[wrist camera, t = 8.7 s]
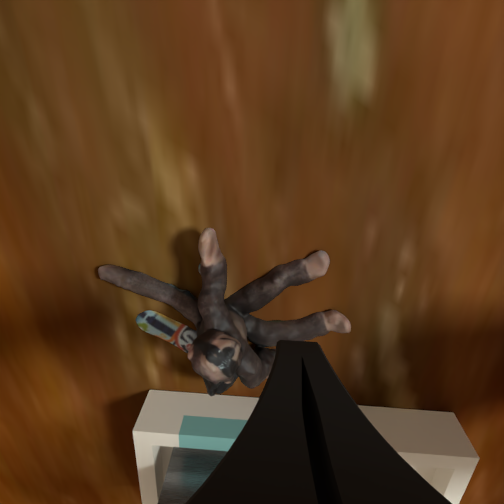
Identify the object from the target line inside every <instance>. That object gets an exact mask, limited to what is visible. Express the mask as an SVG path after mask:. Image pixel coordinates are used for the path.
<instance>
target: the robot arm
mask: <svg viewBox="0 0 504 504" xmlns="http://www.w3.org/2000/svg"><path fill="white" fill-rule="evenodd" d="M185 504H452V503H451V502H450V501H449V500H448V499H446V498H445V497H444V496H443V495H442V494H441V493H439V492H438V491H437V490H436V489H435V488H434V487H433V486H431V485H430V484H429V483H428V482H427V481H426V480H425V479H424V478H423V477H422V476H421V475H420V474H419V473H418V472H417V471H416V470H414V469H413V468H412V467H411V466H410V465H409V464H408V463H407V462H406V461H405V460H404V459H403V458H402V457H401V456H400V455H399V454H398V453H397V452H396V451H395V450H394V448H393V447H392V446H391V445H390V444H389V443H388V442H387V441H386V440H385V439H384V438H383V436H382V435H381V434H380V433H379V432H378V431H377V430H376V428H375V427H374V426H373V425H372V423H371V422H370V421H369V420H368V419H367V417H366V416H365V415H364V413H363V412H362V411H361V409H360V408H359V407H358V405H357V404H356V403H355V401H354V400H353V399H352V397H351V396H350V394H349V393H348V391H347V390H346V388H345V387H344V386H343V384H342V383H341V381H340V380H339V378H338V376H337V375H336V373H335V372H334V370H333V368H332V367H331V365H330V363H329V362H328V360H327V358H326V356H325V354H324V353H323V351H322V349H321V347H320V345H319V344H318V343H317V342H306V341H291V340H279V341H278V342H277V343H276V354H275V358H274V362H273V365H272V369H271V371H270V374H269V377H268V379H267V382H266V384H265V387H264V389H263V391H262V393H261V395H260V398H259V400H258V402H257V404H256V406H255V408H254V410H253V412H252V413H251V415H250V417H249V419H248V421H247V422H246V424H245V426H244V427H243V429H242V431H241V432H240V434H239V435H238V437H237V438H236V440H235V441H234V443H233V445H232V446H231V447H230V449H229V450H228V452H227V453H226V455H225V456H224V457H223V459H222V460H221V461H220V462H219V464H218V465H217V466H216V468H215V469H214V470H213V472H212V473H211V474H210V475H209V477H208V478H207V479H206V480H205V482H204V483H203V484H202V485H201V486H200V488H199V489H198V490H197V491H196V492H195V493H194V494H193V495H192V496H191V498H190V499H189V500H188V501H187V502H186V503H185Z"/></svg>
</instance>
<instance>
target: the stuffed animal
mask: <svg viewBox="0 0 504 504" xmlns="http://www.w3.org/2000/svg"><path fill="white" fill-rule="evenodd" d="M198 250H199V253H200V256H201V259H202V260H201V264H199V273H200V274H201V276H202V289H201V292H200V294H199V297H198V299H197V298H196V297H194V296H193V295H192V294H191V293H190V292H189V291H187V290H181V289H178V288H177V287H176V286H174V285H172V284H168V283H164V282H162V281H159V280H157V279H155V278H152V277H150V276H148V275H146V274H143V273H141V272H137V271H133V270H129V269H126V268H123V267H119V266H115V265H104V266H101V267H99V269H98V274H99V277H100V279H101V280H105V281H108V282H110V283H112V284H115V285H116V286H118V287H122V288H123V289H127V290H130V291H132V292H134V293H137V294H140V295H142V296H146V297H149V298H152V299H155V300H158V301H161V302H164V303H167V304H169V305H171V306H173V307H174V308H175V309H176V310H177V311H179V312H180V313H181V314H182V315H183V316H184V317H185V318H187V319H188V320H190V321H192V322H193V323H194V324H195V327H196V328H197V331H195V330H193V329H191V328H189V327H188V326H186V325H184V324H182V323H180V322H177V321H175V320H173V319H171V318H169V317H167V316H165V315H163V314H160V313H158V312H155V311H144V312H142V313H140V314H139V315H138V316H137V318H136V322H137V324H138V326H139V328H140V329H142V330H143V331H145V332H147V333H149V334H152V335H154V336H156V337H159V338H161V339H163V340H165V341H167V342H170V343H171V344H173V345H175V346H177V347H178V348H180V349H181V350H183V351H185V352H186V353H188V359H189V360H190V361H191V363H192V367H193V370H194V371H195V372H196V373H197V374H199V375H200V376H202V377H203V380H204V382H205V385H206V388H207V392H208V394H209V395H210V396H214V395H215V394H216V393H217V394H221V393H223V392H224V391H226V390H227V389H228V388H229V387H231V386H232V385H233V383H234V382H235V381H236V379H237V377H240V379H241V382H242V383H243V384H244V385H245V386H247V387H248V388H255V386H259V385H260V383H261V382H263V381H264V380H265V378H268V377H269V374H270V371H271V369H272V365H273V362H274V358H275V354H276V349H268V348H265V347H269V346H276V343H277V342H278V341H279V340H291V341H305V340H311V339H313V338H315V337H317V336H323V335H326V334H327V333H328V332H329V331H335V332H339V333H349V332H350V331H351V325H350V322H349V320H348V319H347V318H346V317H345V316H344V315H343V314H341V313H340V312H338V311H336V310H330V311H326V312H316V313H313V314H311V315H309V316H306V317H304V318H301V319H297V320H288V321H281V320H273V321H264V320H262V319H259V318H255V317H253V316H252V315H250V314H249V313H250V312H253V311H257V310H259V309H260V308H262V307H263V306H265V305H266V304H267V303H269V302H270V301H271V300H273V299H274V298H275V297H276V296H278V295H279V294H280V293H281V292H282V291H283V290H284V289H285V288H287V287H289V286H298V285H301V284H304V283H308V282H310V281H312V280H314V279H316V278H317V277H322V276H323V275H325V274H326V272H327V269H328V266H329V264H330V259H329V256H328V254H327V253H326V252H325V251H317V252H315V253H313V254H312V255H310V256H309V257H307V258H305V259H299V260H294V261H292V262H289V263H287V264H282V265H278V266H276V267H275V268H274V269H272V270H271V271H270V272H269V273H268V274H267V275H266V276H264V277H262V278H259V279H257V280H255V281H253V282H251V283H249V284H248V285H246V286H245V287H244V288H242V289H240V290H238V291H237V292H236V293H234V294H232V295H231V296H230V297H228V298H227V299H225V300H224V293H225V290H226V285H227V264H226V260H225V258H224V256H223V255H222V253H221V251H220V248H219V245H218V241H217V237H216V232H215V230H214V229H212V228H206V229H204V230H203V232H202V233H201V235H200V238H199V242H198ZM247 338H248V339H249V340H250V341H251V342H252V343H254V344H257V346H256V347H255V349H254V350H252V348H251V347H250V346H249V344H248V342H247Z"/></svg>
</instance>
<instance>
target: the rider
mask: <svg viewBox="0 0 504 504" xmlns="http://www.w3.org/2000/svg"><path fill="white" fill-rule="evenodd" d="M227 452H228V451H218V450H206V449H193V448H181V447H173V450H172V454H171V458H170V461H169V465H168V468H167V472H166V475H165V479H164V482H163V486H162V490H161V493H160V497H159V500H158V504H185V503H186V502H187V501H188V500H189V499H190V498H191V496H192V495H193V494H194V493H195V492H196V491H197V490H198V489H199V488H200V486H201V485H202V484H203V483H204V482H205V480H206V479H207V478H208V477H209V475H210V474H211V473H212V472H213V470H214V469H215V468H216V466H217V465H218V464H219V462H220V461H221V460H222V459H223V457H224V456H225V455H226V453H227Z"/></svg>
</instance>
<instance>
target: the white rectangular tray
mask: <svg viewBox="0 0 504 504" xmlns="http://www.w3.org/2000/svg"><path fill="white" fill-rule="evenodd" d="M258 400H259V398H254V397H241V396H228V395H214V396H210V395H209V394H201V393H188V392H174V391H161V390H149V392H148V395H147V397H146V400H145V402H144V404H143V407H142V409H141V412H140V414H139V416H138V419H137V421H136V424H135V426H134V428H133V439H134V446H135V454H136V461H137V469H138V476H139V484H140V491H141V499H142V504H158V500H159V497H160V493H161V490H162V486H163V482H164V479H165V475H166V472H167V468H168V465H169V461H170V458H171V454H172V450H173V447H181V448H193V449H206V450H218V451H228V450H229V449H230V447H231V446H232V445H233V443H234V441H235V440H236V438H237V437H238V435H239V434H240V432H241V431H242V429H243V427H244V426H245V424H246V422H247V421H248V419H249V417H250V415H251V413H252V412H253V410H254V408H255V406H256V404H257V402H258ZM358 407H359V408H360V409H361V411H362V412H363V413H364V415H365V416H366V417H367V419H368V420H369V421H370V422H371V423H372V425H373V426H374V427H375V428H376V430H377V431H378V432H379V433H380V434H381V435H382V436H383V438H384V439H385V440H386V441H387V442H388V443H389V444H390V445H391V446H392V447H393V448H394V450H395V451H396V452H397V453H398V454H399V455H400V456H401V457H402V458H403V459H404V460H405V461H406V462H407V463H408V464H409V465H410V466H411V467H412V468H413V469H414V470H416V471H417V472H418V473H419V474H420V475H421V476H422V477H423V478H424V479H425V480H426V481H427V482H428V483H429V484H430V485H431V486H433V487H434V488H435V489H436V490H437V491H438V492H439V493H441V494H442V495H443V496H444V497H445V498H446V499H448V500H449V501H450V502H451V503H452V504H459V502H460V500H461V498H462V496H463V493H464V491H465V489H466V487H467V485H468V482H469V480H470V478H471V476H472V474H473V471H474V469H475V467H476V465H477V463H478V461H479V456H478V455H477V453H476V451H475V449H474V448H473V446H472V444H471V442H470V441H469V439H468V437H467V435H466V434H465V432H464V430H463V428H462V426H461V425H460V423H459V421H458V419H457V418H456V416H455V414H454V412H441V411H428V410H414V409H401V408H388V407H374V406H361V405H358Z"/></svg>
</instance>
